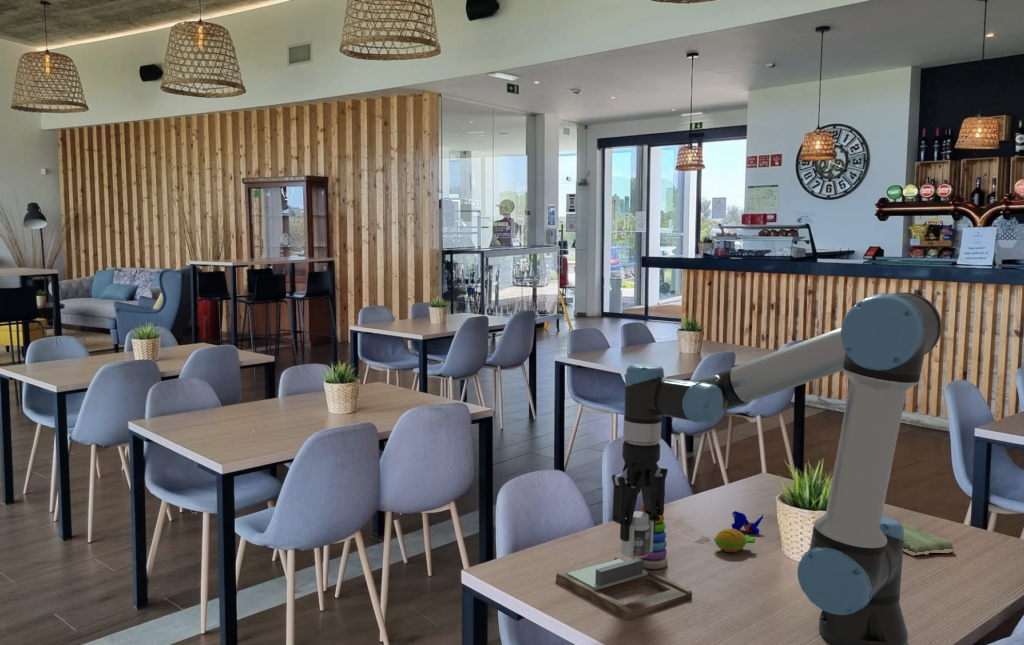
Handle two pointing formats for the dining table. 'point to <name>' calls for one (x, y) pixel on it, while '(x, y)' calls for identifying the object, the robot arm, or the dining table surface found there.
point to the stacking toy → (657, 547)
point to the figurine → (745, 523)
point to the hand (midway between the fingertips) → (636, 552)
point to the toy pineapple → (732, 540)
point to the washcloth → (923, 540)
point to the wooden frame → (636, 608)
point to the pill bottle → (641, 534)
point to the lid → (609, 573)
